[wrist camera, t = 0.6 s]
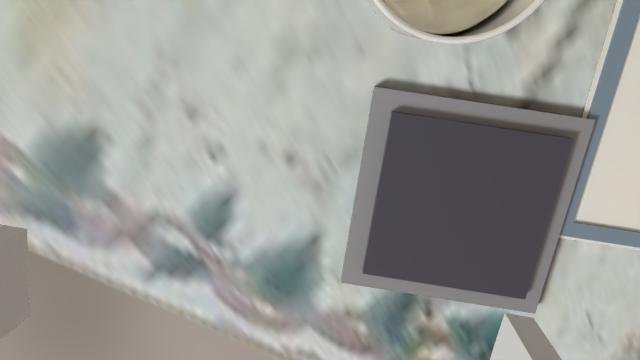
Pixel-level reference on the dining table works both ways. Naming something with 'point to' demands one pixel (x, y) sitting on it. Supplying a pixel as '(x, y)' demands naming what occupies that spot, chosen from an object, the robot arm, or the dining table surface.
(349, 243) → the ink pad
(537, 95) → the dining table surface
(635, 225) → the marked square
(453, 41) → the candle holder
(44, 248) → the dining table surface
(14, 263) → the robot arm
